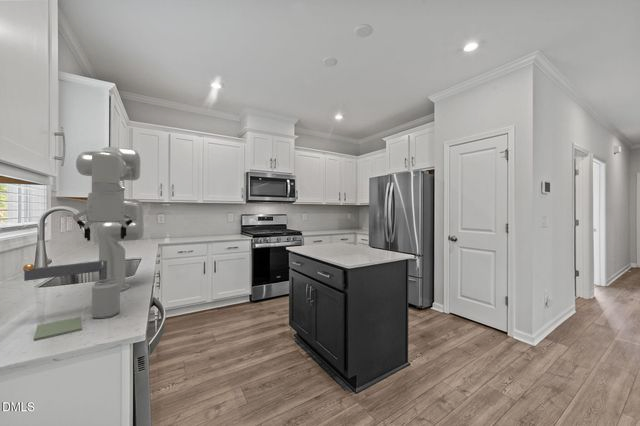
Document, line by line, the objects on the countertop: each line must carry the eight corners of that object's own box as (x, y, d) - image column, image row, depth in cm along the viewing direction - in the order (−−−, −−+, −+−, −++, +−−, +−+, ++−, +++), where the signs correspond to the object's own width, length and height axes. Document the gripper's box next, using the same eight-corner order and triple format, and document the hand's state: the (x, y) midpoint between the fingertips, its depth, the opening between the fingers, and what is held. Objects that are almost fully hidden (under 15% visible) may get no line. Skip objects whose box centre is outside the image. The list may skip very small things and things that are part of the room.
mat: (37, 327, 83) (37, 325, 83) (80, 318, 90) (80, 316, 90) (33, 340, 74) (33, 338, 74) (81, 330, 81) (82, 328, 81)
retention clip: (106, 301, 103) (106, 256, 103) (107, 302, 101) (107, 256, 101) (23, 317, 87) (22, 264, 87) (23, 319, 86) (22, 265, 85)
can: (113, 309, 98) (113, 276, 98) (123, 313, 94) (123, 279, 94) (88, 316, 91) (88, 281, 91) (97, 321, 88) (97, 284, 87)
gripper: (134, 191, 101) (134, 237, 101) (71, 188, 89) (71, 240, 89) (138, 190, 96) (138, 238, 96) (71, 187, 84) (71, 242, 84)
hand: (106, 239), depth 93 cm, fingers open, 8 cm apart
